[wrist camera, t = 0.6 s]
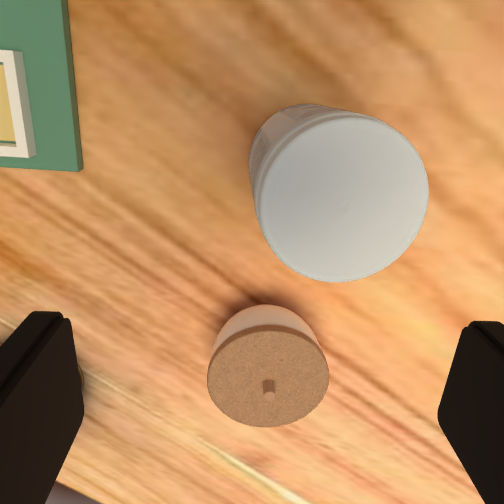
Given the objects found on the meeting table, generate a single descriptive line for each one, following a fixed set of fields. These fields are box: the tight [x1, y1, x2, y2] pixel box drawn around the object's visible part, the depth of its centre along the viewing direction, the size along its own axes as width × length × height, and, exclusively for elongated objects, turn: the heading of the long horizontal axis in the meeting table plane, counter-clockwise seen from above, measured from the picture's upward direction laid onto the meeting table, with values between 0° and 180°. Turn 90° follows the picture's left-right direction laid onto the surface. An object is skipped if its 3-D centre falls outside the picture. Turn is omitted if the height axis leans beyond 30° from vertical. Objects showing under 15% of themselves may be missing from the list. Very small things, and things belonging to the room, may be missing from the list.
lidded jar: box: [207, 305, 329, 427], centre depth 38 cm, size 11×11×9 cm
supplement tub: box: [249, 104, 429, 282], centre depth 28 cm, size 10×10×15 cm
